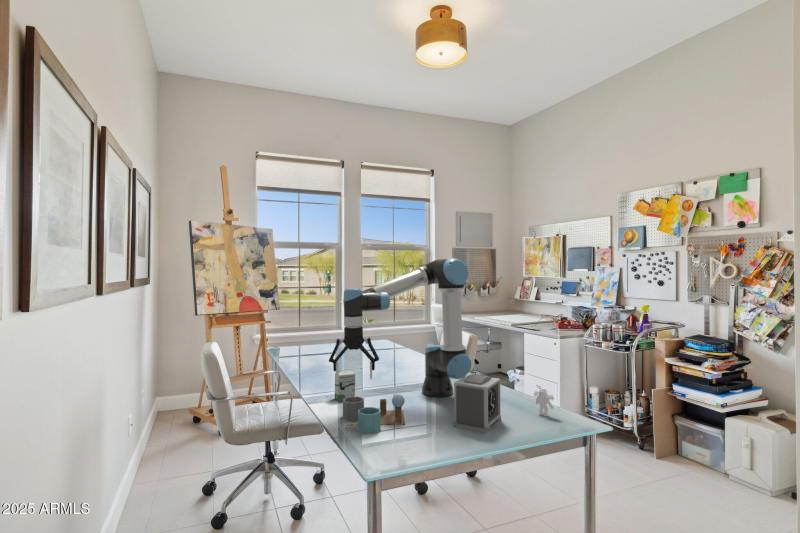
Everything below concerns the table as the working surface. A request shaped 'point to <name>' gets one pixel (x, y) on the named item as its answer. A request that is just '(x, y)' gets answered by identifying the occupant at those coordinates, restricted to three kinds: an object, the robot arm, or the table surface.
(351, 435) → the table surface
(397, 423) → the stand
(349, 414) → the tube charcoal
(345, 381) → the ink box
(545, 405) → the blocky character figurine
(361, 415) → the tube teal
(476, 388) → the alarm clock
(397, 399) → the ball slate
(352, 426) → the card
